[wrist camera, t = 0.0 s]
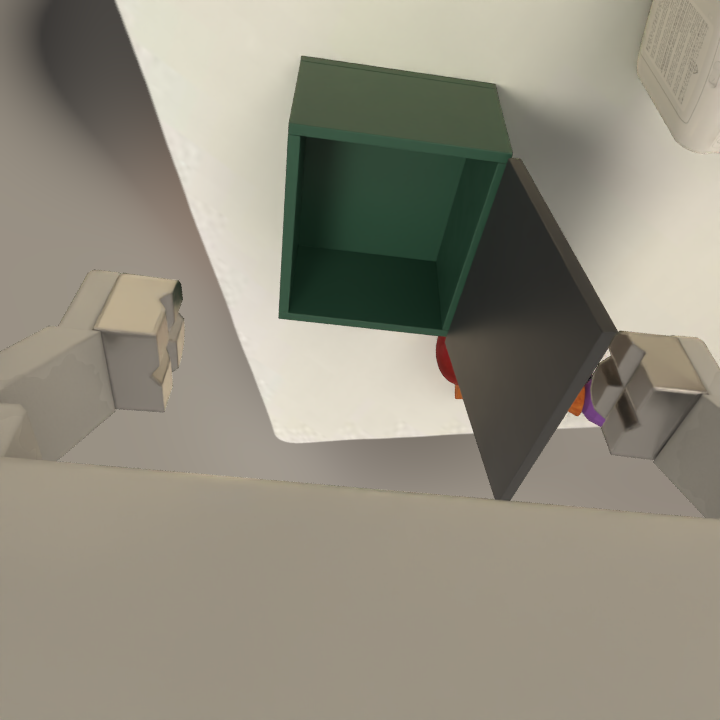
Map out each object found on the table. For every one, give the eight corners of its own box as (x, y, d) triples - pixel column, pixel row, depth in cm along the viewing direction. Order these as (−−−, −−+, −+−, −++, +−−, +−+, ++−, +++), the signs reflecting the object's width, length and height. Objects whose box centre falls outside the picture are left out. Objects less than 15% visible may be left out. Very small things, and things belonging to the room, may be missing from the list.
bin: (289, 245, 59) (278, 318, 53) (301, 55, 46) (288, 123, 40) (441, 263, 60) (448, 337, 54) (495, 83, 47) (513, 153, 41)
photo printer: (686, 76, 47) (751, 168, 38) (627, 79, 47) (679, 171, 39) (742, -90, 39) (839, -19, 31) (671, -86, 39) (748, -15, 31)
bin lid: (496, 505, 44) (508, 504, 44) (602, 332, 31) (619, 332, 31) (444, 341, 54) (454, 341, 54) (508, 157, 40) (521, 158, 41)
